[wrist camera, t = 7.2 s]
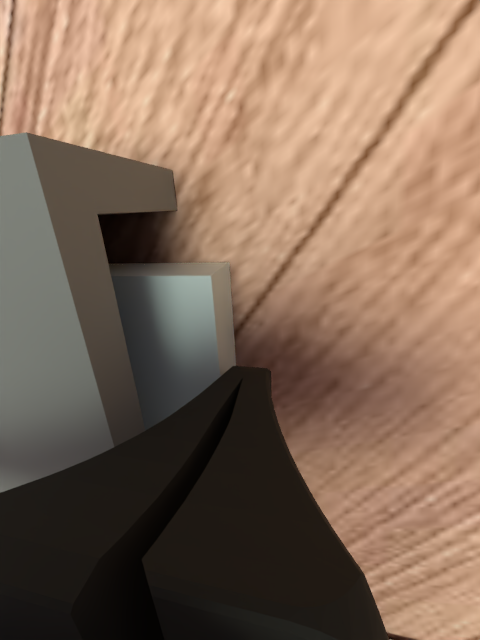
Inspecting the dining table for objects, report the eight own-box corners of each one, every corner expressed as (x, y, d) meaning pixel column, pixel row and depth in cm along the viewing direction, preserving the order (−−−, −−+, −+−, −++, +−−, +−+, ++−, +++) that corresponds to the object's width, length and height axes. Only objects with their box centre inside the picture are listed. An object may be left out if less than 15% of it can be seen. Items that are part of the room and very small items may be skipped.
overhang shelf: (212, 491, 14) (165, 631, 10) (54, 464, 16) (-47, 569, 12) (172, 170, 9) (26, 132, 4) (-52, 191, 11) (-315, 180, 6)
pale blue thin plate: (243, 434, 13) (229, 482, 11) (77, 414, 15) (36, 451, 13) (232, 259, 10) (211, 275, 8) (28, 263, 12) (-36, 276, 10)
